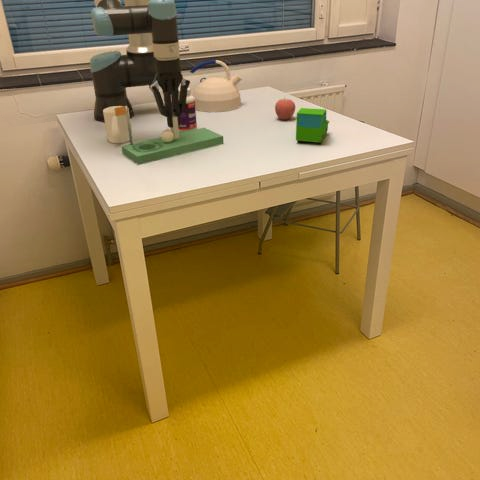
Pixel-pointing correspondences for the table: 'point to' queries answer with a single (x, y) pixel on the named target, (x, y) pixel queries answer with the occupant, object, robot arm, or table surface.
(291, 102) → the apple
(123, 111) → the flag pin
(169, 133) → the ball
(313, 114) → the toy car
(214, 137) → the putting mat
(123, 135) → the mug
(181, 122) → the pill bottle
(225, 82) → the kettle
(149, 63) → the robot arm
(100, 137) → the table surface
